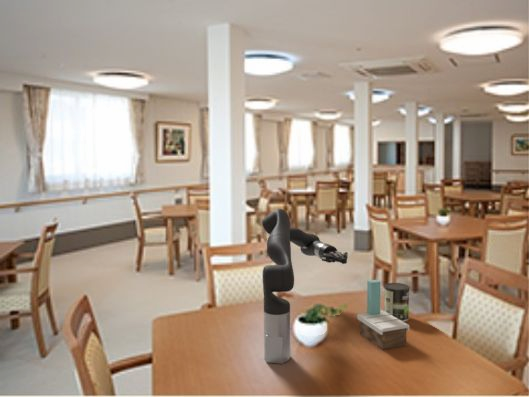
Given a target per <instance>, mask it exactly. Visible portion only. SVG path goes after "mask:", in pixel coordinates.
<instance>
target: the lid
mask: <svg viewBox="0 0 529 397" xmlns="http://www.w3.org/2000/svg"><path fill="white" fill-rule="evenodd" d="M366 283H367V284H366V285H367V286H366V289H367V290H366V304H367V305H366V311H365V312H360V313H358V314H357V318H356V319H357V320H359V322H360V321H361V322H363V323H364V324H366V325H367V326H369V327H370V328H372V329H373V330H375V331H376V332H378V333H379V334H381V335H383V332H386V331H392V330H398V329H404V328H407V331H410V325H409V324H408V323H406V322H403V321H401V320H399V319H397V318H396V317H394V316H392V315H391V314H389V313H387V312H385V311H384V310H383V309H381V281H380V280H378V279H369V280H367V281H366Z"/></svg>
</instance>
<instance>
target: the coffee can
mask: <svg viewBox="0 0 529 397" xmlns="http://www.w3.org/2000/svg"><path fill="white" fill-rule="evenodd" d="M409 301H410V286H409V285H408V284H405V283H400V282H388V283H385V284H384V310H383V311H385V312H387V313H389V314H391V315H392V316H394V317H396V318H397V319H399V320H401V321H403V322H404V323H406V322H407V321H409V318H410V316H409V315H410V314H409V311H410V310H409V307H410V306H409V305H410V304H409V303H410V302H409Z"/></svg>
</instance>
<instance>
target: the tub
mask: <svg viewBox="0 0 529 397" xmlns="http://www.w3.org/2000/svg"><path fill="white" fill-rule="evenodd" d="M407 332H408V330H407V328H404V329H398V330H392V331H386V332H383V335H381V334H379V333H378V332H376V331H375V330H373V329H372V328H370V327H369V326H367V325H366V324H364V323H363V322H361V321H360V320H359V335H360V336H362V337H363V338H365V339H366V340H368V342H370V343H371V344H373V345H374V346H376V347H377V348H379V349H380V350H382V351H388V350H389V351H390V350H394V349H399V348H404V347H405V348H406V347H407V334H408V333H407Z"/></svg>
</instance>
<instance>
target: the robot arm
mask: <svg viewBox="0 0 529 397" xmlns="http://www.w3.org/2000/svg"><path fill="white" fill-rule="evenodd" d="M261 224H262V227H263V229H264V231H265V232H266V233H267V234H268V235H269V236H268V237H267V240H266V253H267V256H268V257H269V259H270V260H271V261H272V262H273V263H275V264H267V265H265V266H263V270H262V289H263V339H264V340H263V343H264V344H263V347H264V351H263V352H264V355H263V356H264V360H265V362H266V363H270V364H271V363H272V364H278V365H279V364H280V365H284V363H286V362H288V361H290V360H291V303H290V301H289V300H287V299H285V298H282V297H279V296H277V295H276V294H274V293H286V292H291V291H292V290H293V288H294V286H295V275H294V274H295V272H294V267H293V263H292V247H291V246H292V244H291V243H293V244H294V245H296V246H297V247H300V252H301V253H302V254H304V255H305V256H310V257H314V256H315V257H317V258H318V259H320V260H321V261H322V262H325V263H329V264H330V263H335V262H336V263H339V264H340V263H341V265H344V264H347V263H348V258H349V257H348V256H349V253H348V252H347V251H345V252H343V253H342V252H341V251H338V249H337V248H336V246H333V245H331V244H329V243H327V242H322V241H321V239H320V237H319V236H318V235H316V234H314V233H309V232H305V231H303V230H302V229H300V228H296V227H291V219H290V216H289V214H288V213H287V211H285V210H284V209H282V208H277V209H275V210H273V211H272V212H271V213H269V214H267V216H265V217H264V218H263V219H262V222H261Z"/></svg>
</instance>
